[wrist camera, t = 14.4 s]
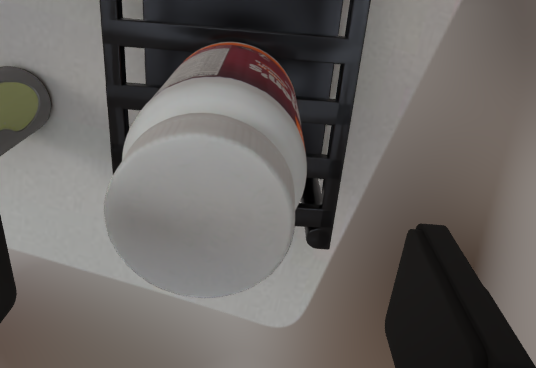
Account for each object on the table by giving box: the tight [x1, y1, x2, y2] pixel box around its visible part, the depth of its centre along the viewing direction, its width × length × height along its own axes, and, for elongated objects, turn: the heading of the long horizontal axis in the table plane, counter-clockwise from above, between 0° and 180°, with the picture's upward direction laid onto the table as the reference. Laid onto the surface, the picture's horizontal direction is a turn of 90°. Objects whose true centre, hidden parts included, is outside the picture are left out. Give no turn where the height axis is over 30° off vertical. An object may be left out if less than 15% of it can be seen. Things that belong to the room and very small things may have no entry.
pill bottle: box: [104, 42, 307, 298], centre depth 17 cm, size 6×6×11 cm
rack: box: [100, 0, 371, 249], centre depth 27 cm, size 12×16×11 cm
